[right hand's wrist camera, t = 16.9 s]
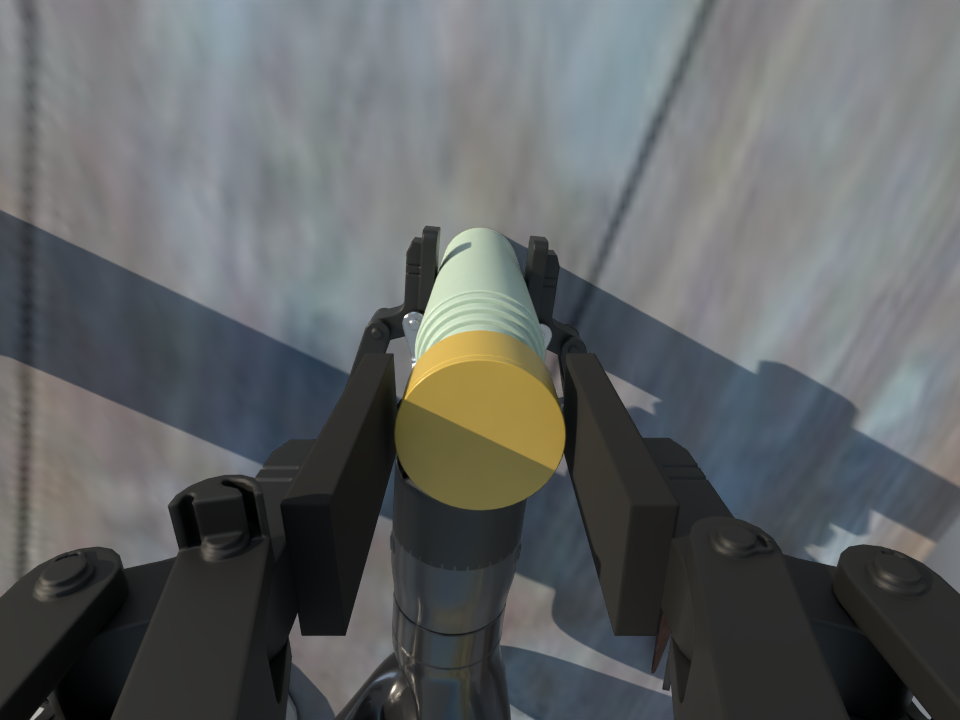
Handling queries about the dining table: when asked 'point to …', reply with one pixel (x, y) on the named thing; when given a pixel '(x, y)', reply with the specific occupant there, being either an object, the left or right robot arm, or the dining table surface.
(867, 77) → the dining table surface
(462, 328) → the bottle
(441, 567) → the left robot arm
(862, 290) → the dining table surface
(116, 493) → the dining table surface
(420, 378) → the cap
